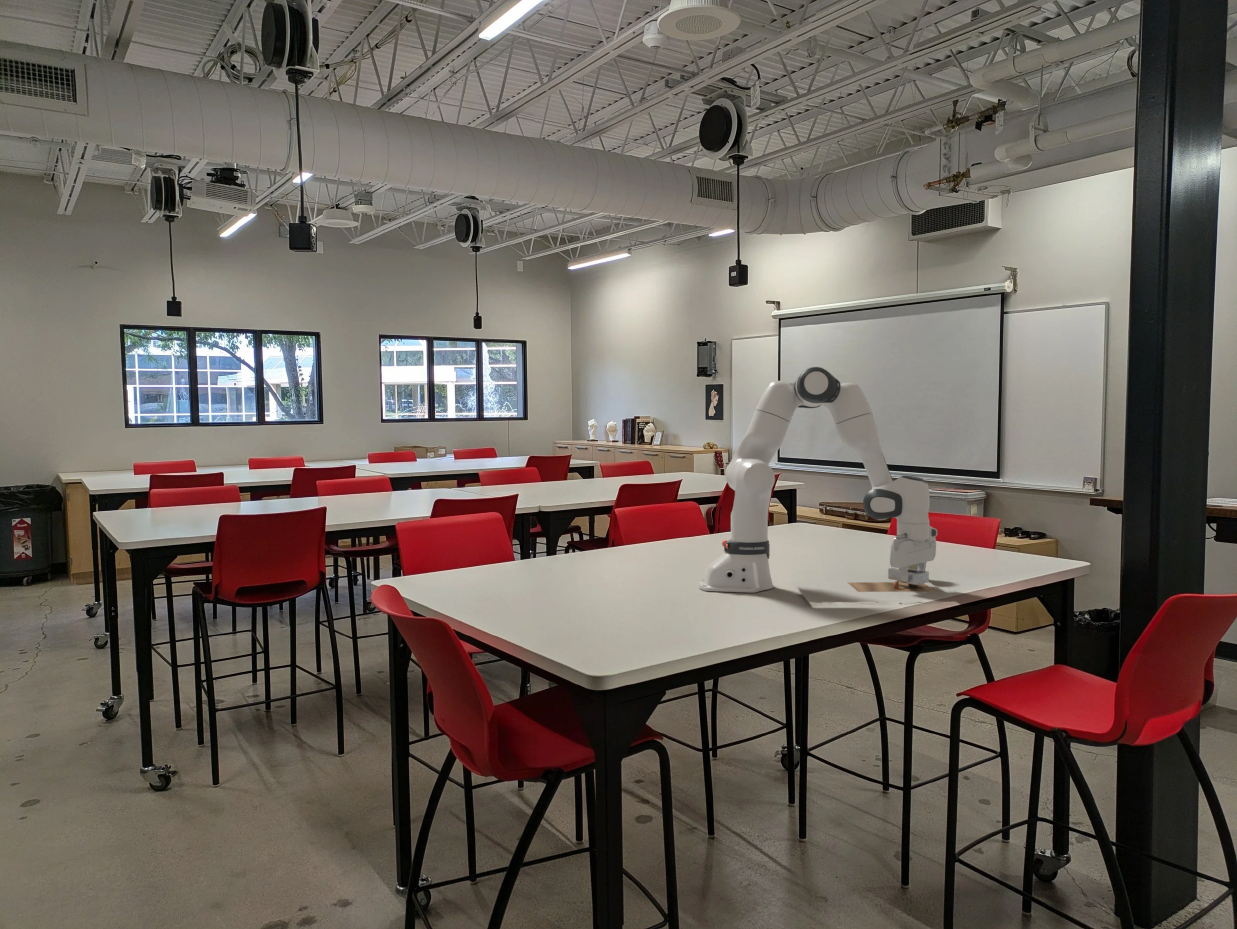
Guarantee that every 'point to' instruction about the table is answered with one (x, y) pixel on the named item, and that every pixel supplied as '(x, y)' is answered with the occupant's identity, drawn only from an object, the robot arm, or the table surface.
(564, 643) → the table surface
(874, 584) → the board
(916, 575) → the grey square frame
